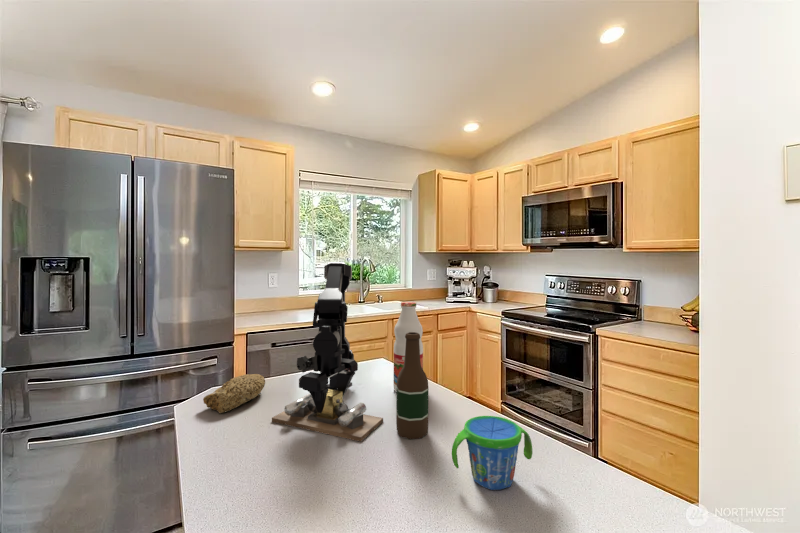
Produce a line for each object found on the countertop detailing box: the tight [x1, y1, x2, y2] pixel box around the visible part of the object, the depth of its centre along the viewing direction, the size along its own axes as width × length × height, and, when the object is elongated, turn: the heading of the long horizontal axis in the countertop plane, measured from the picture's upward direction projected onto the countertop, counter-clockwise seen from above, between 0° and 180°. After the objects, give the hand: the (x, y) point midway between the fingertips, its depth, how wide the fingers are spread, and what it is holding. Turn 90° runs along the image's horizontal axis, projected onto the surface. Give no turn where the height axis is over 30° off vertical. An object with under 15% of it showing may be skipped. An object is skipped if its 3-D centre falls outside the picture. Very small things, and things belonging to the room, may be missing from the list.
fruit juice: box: [393, 301, 424, 393], centre depth 120 cm, size 9×9×28 cm
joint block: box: [318, 388, 344, 420], centre depth 98 cm, size 5×4×6 cm
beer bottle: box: [395, 332, 429, 440], centre depth 90 cm, size 8×8×24 cm
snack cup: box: [451, 415, 533, 491], centre depth 71 cm, size 16×10×10 cm
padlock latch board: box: [271, 403, 384, 442], centre depth 96 cm, size 12×26×4 cm, turn 67°
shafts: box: [283, 393, 367, 427], centre depth 95 cm, size 9×18×4 cm, turn 67°
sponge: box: [202, 373, 266, 414], centre depth 111 cm, size 13×8×20 cm
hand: (330, 406), depth 97 cm, fingers open, 9 cm apart
